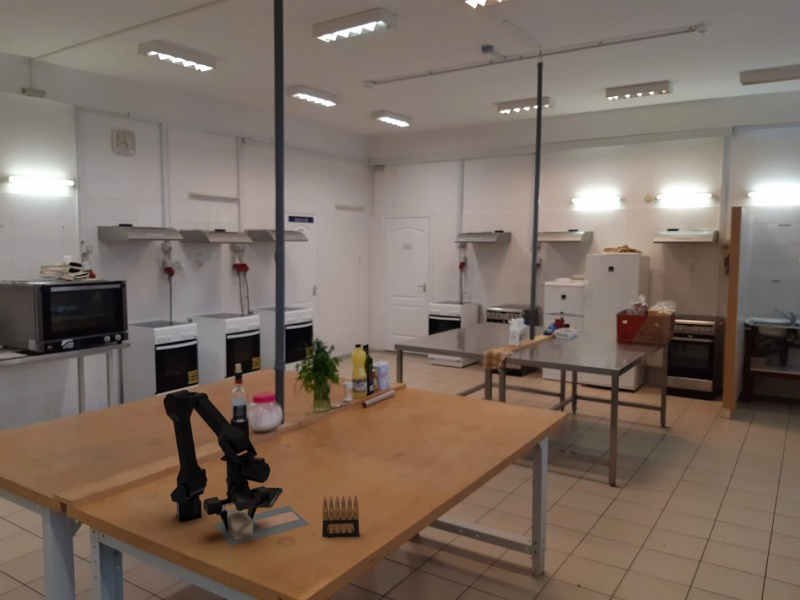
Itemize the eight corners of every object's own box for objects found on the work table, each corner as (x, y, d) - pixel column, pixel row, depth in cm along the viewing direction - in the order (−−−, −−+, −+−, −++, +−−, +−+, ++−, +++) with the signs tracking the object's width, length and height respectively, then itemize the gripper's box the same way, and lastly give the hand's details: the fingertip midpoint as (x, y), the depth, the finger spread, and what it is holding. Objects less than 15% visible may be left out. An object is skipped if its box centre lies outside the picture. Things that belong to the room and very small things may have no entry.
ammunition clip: (322, 537, 174) (321, 497, 173) (322, 534, 176) (321, 494, 175) (359, 536, 175) (358, 496, 174) (359, 533, 177) (358, 493, 176)
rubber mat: (230, 547, 169) (230, 545, 169) (213, 525, 183) (213, 524, 183) (309, 525, 182) (309, 524, 182) (288, 506, 196) (288, 505, 196)
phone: (283, 487, 209) (271, 506, 194) (283, 491, 209) (271, 509, 194) (260, 487, 209) (247, 505, 195) (260, 490, 210) (247, 509, 195)
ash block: (236, 540, 173) (235, 524, 172) (224, 525, 182) (224, 510, 182) (253, 535, 175) (252, 520, 175) (240, 521, 185) (240, 506, 184)
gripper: (212, 492, 165) (214, 547, 167) (277, 478, 175) (278, 530, 177) (201, 479, 175) (203, 532, 176) (263, 466, 185) (265, 516, 186)
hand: (238, 527), depth 179 cm, fingers open, 6 cm apart
